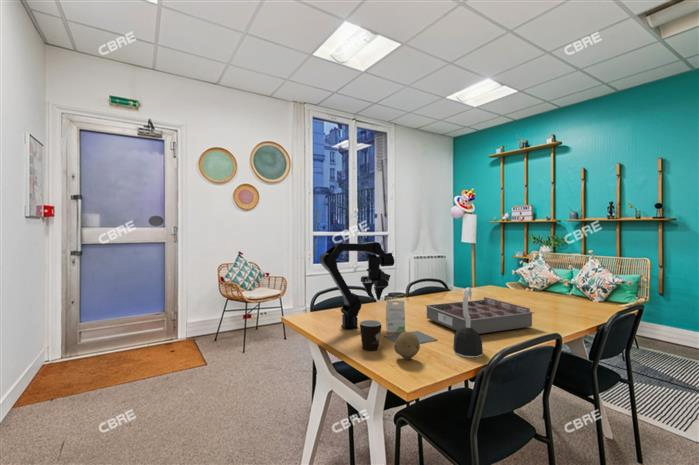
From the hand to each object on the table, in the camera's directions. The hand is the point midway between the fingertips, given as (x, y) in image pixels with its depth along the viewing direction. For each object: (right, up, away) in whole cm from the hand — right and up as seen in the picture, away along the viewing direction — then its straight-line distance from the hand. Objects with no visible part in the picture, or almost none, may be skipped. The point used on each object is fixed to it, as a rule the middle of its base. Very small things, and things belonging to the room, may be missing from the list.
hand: (374, 298), depth 166 cm
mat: (+14, -13, -22) cm, 29 cm away
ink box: (+9, -13, -11) cm, 19 cm away
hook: (+33, -14, -38) cm, 52 cm away
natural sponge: (+9, -14, -45) cm, 48 cm away
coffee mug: (-3, -13, -33) cm, 36 cm away
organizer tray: (+51, -13, 0) cm, 53 cm away
